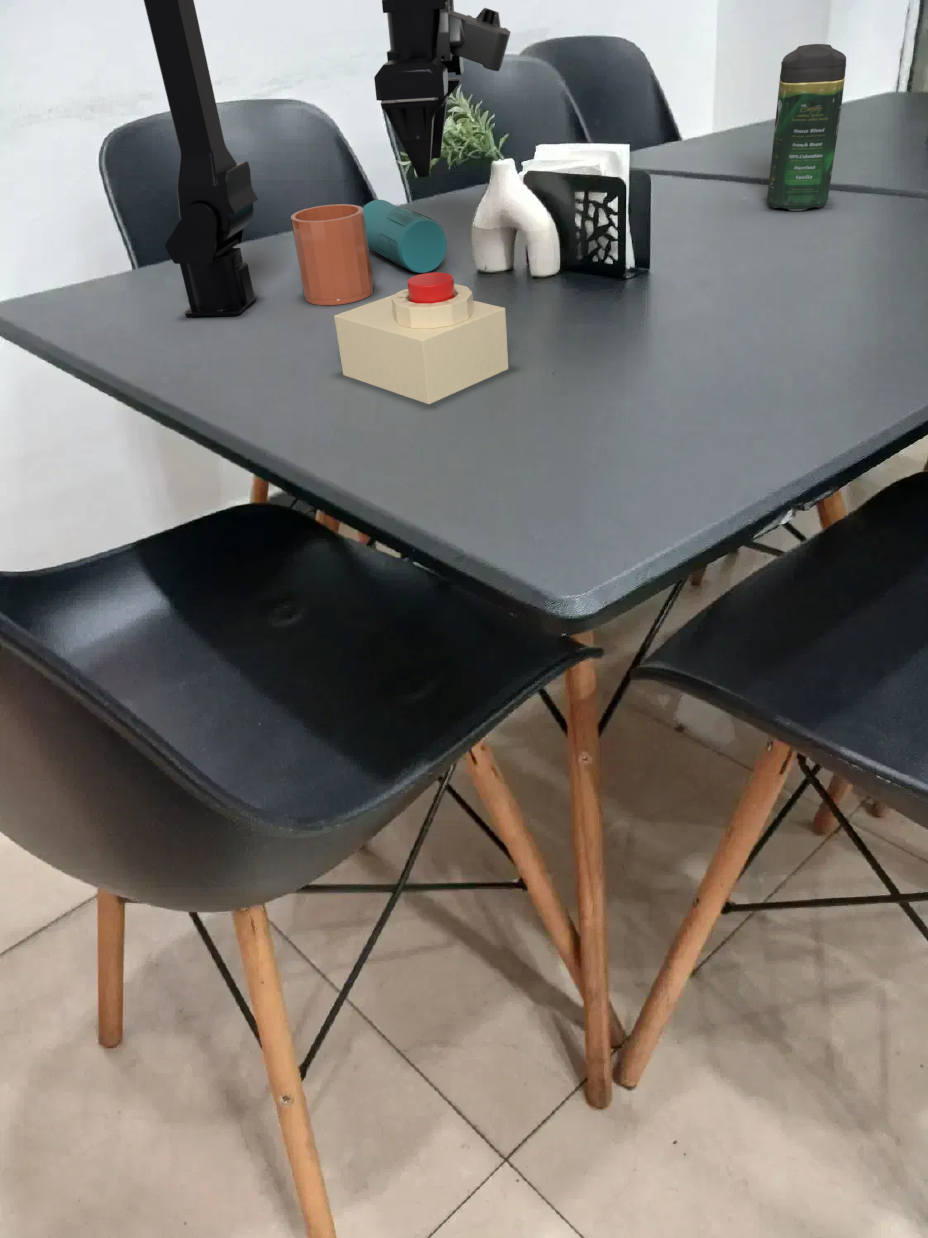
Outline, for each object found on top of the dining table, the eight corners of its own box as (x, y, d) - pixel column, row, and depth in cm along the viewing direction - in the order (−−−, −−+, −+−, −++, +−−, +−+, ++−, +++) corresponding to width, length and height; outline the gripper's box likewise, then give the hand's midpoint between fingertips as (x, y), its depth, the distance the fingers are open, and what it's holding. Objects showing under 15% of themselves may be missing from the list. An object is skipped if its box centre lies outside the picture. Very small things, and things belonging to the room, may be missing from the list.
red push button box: (343, 375, 91) (330, 295, 87) (421, 344, 97) (413, 267, 92) (429, 405, 84) (420, 319, 80) (508, 369, 89) (504, 287, 85)
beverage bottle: (430, 207, 111) (364, 180, 126) (392, 253, 112) (332, 220, 127) (464, 247, 116) (397, 216, 131) (428, 290, 116) (365, 255, 131)
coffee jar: (830, 211, 126) (852, 46, 115) (766, 213, 128) (782, 50, 117) (826, 194, 134) (847, 38, 123) (766, 196, 136) (781, 42, 125)
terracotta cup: (296, 306, 110) (281, 223, 105) (315, 285, 117) (302, 205, 112) (364, 304, 109) (352, 219, 104) (380, 282, 116) (370, 202, 110)
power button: (400, 301, 85) (397, 281, 84) (433, 289, 87) (431, 269, 86) (430, 309, 83) (428, 288, 82) (464, 296, 85) (462, 276, 84)
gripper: (495, -19, 81) (503, 183, 90) (509, -28, 96) (514, 145, 105) (364, -9, 82) (384, 188, 91) (397, -20, 97) (412, 151, 106)
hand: (429, 166), depth 98 cm, fingers open, 9 cm apart
